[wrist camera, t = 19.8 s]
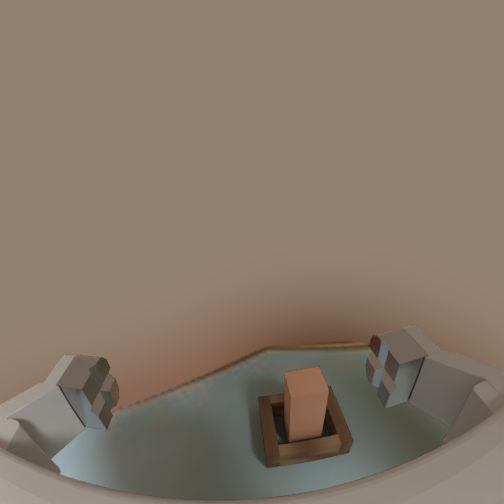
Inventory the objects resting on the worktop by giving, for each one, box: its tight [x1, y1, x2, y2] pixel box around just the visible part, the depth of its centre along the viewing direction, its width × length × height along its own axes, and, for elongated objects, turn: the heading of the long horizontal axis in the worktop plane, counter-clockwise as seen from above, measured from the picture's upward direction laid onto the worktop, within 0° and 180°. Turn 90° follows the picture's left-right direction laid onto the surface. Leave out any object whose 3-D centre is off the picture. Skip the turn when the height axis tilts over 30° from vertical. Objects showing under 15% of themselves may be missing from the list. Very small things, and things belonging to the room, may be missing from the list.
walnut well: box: [258, 386, 353, 468], centre depth 30 cm, size 10×10×3 cm
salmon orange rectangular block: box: [284, 367, 329, 444], centre depth 29 cm, size 4×4×10 cm
